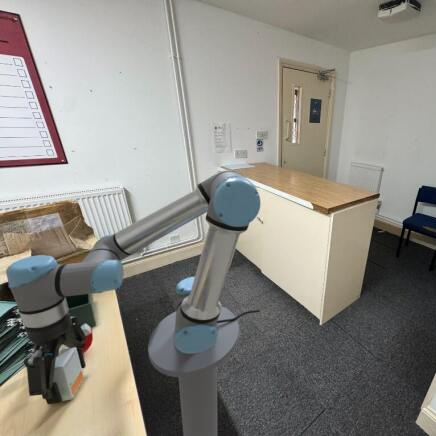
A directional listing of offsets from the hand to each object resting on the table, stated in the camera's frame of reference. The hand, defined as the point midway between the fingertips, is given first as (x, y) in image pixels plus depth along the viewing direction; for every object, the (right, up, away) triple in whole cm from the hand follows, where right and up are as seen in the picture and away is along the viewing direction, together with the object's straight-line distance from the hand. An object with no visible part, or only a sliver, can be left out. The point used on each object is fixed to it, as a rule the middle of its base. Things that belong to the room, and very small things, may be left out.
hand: (68, 383), depth 63 cm
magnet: (-8, +1, +9) cm, 12 cm away
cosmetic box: (0, -2, +1) cm, 3 cm away
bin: (-19, +8, +23) cm, 31 cm away
